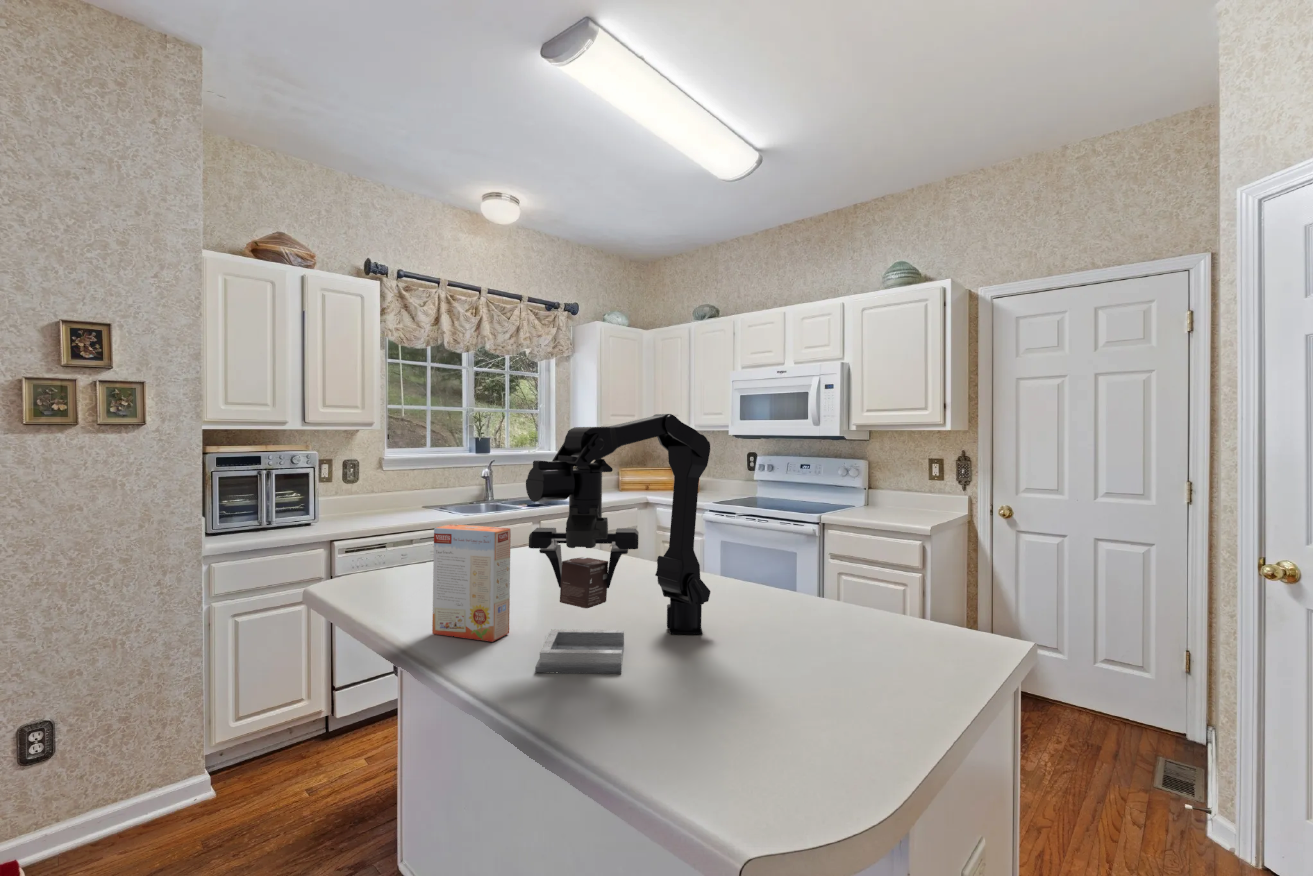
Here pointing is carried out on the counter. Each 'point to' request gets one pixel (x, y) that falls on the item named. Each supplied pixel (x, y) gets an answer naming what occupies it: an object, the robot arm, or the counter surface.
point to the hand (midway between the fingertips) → (584, 587)
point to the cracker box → (471, 582)
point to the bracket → (582, 652)
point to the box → (584, 582)
